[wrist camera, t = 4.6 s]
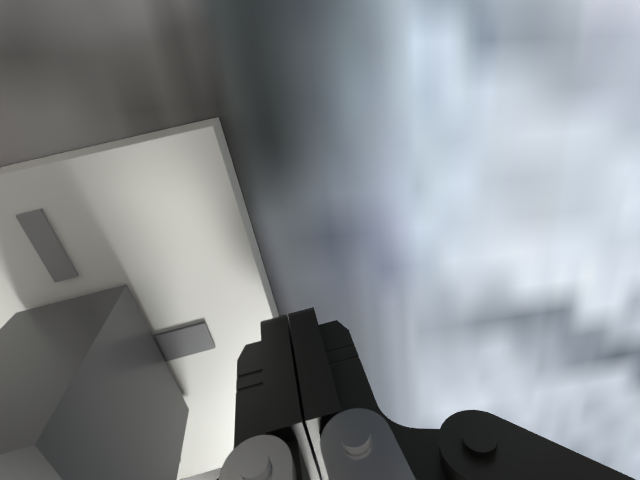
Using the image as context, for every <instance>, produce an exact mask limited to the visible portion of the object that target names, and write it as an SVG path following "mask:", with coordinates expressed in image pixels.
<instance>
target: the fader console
mask: <svg viewBox="0 0 640 480" xmlns="http://www.w3.org/2000/svg"><path fill="white" fill-rule="evenodd" d="M126 284H127V286H128V288H129V290H130V292H131V294H132V296H133V298H134V300H135V302H136V304H137V306H138V308H139V310H140V312H141V314H142V316H143V318H144V320H145V322H146V324H147V326H148V328H149V330H150V332H151V334H152V336H153V338H154V340H155V342H156V344H157V346H158V348H159V350H160V352H161V354H162V356H163V358H164V360H165V362H166V364H167V366H168V368H169V370H170V372H171V374H172V376H173V378H174V380H175V382H176V384H177V386H178V388H179V390H180V392H181V394H182V396H183V398H184V400H185V402H186V404H187V406H188V408H189V413H188V419H187V424H186V430H185V435H184V441H183V447H182V452H181V458H180V463H179V469H178V474H177V480H180V479H183V478H187V477H190V476H193V475H197V474H200V473H204V472H207V471H210V470H214V469H217V468H221V467H222V466H223V463H224V462H225V460H226V458H227V457H228V455H229V454H230V453H231V452H232V451H233V448H234V429H235V404H236V393H237V391H236V379H237V360H238V358H239V356H240V354H241V352H242V350H243V349H244V347H245V345H247V344H251V343H254V342H258V341H261V327H260V322H261V321H264V320H268V319H272V318H276V317H279V314H278V311H277V307H276V304H275V301H274V298H273V294H272V291H271V288H270V284H269V281H268V278H267V275H266V271H265V268H264V265H263V261H262V258H261V255H260V252H259V248H258V245H257V242H256V238H255V235H254V232H253V229H252V225H251V222H250V219H249V215H248V212H247V209H246V205H245V202H244V199H243V196H242V192H241V189H240V186H239V182H238V179H237V176H236V173H235V169H234V166H233V163H232V159H231V156H230V153H229V150H228V146H227V143H226V140H225V136H224V133H223V130H222V127H221V123H220V120H219V117H217V118H212V119H208V120H204V121H199V122H195V123H190V124H186V125H182V126H177V127H173V128H169V129H164V130H160V131H156V132H151V133H147V134H143V135H138V136H134V137H129V138H125V139H121V140H116V141H112V142H108V143H103V144H99V145H95V146H90V147H86V148H82V149H77V150H73V151H68V152H64V153H60V154H55V155H51V156H47V157H42V158H38V159H34V160H29V161H25V162H21V163H16V164H12V165H7V166H3V167H0V329H1V328H2V327H3V326H4V325H5V324H6V322H7V321H8V320H9V319H10V318H11V317H12V316H13V315H14V314H15V313H17V312H21V311H25V310H29V309H32V308H36V307H40V306H44V305H48V304H52V303H56V302H60V301H64V300H68V299H72V298H76V297H79V296H83V295H87V294H91V293H95V292H99V291H103V290H107V289H111V288H115V287H119V286H123V285H126Z"/></svg>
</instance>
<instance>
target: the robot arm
mask: <svg viewBox="0 0 640 480" xmlns="http://www.w3.org/2000/svg"><path fill="white" fill-rule="evenodd" d="M288 315H289V321H288V317H287V315H283V316H279V317H276V318H272V319H268V320H264V321H261V322H260V327H261V341H258V342H254V343H251V344H247V345H245V347H244V349H243V350H242V352H241V354H240V356H239V358H238V360H237V379H236V391H237V393H236V404H235V429H234V448H233V451H232V452H231V453H230V454H229V455H228V457H227V458H226V460H225V462H224V463H223V466H222V468H221V471H220V476H219V478H218V479H217V480H322V477H323V480H636V479H633V478H631V477H629V476H627V475H625V474H622V473H620V472H618V471H616V470H614V469H611V468H609V467H607V466H605V465H603V464H600V463H598V462H596V461H594V460H592V459H590V458H587V457H585V456H583V455H581V454H579V453H576V452H574V451H572V450H570V449H568V448H565V447H563V446H561V445H559V444H557V443H555V442H552V441H550V440H548V439H546V438H544V437H541V436H539V435H537V434H535V433H533V432H530V431H528V430H526V429H524V428H522V427H519V426H517V425H515V424H513V423H511V422H509V421H506V420H504V419H502V418H500V417H498V416H495V415H493V414H490V413H488V412H484V411H479V410H465V411H460V412H457V413H455V414H453V415H451V416H450V417H448V418H447V419H446V420H445V421H444V423H443V424H442V426H441V428H440V429H417V428H409V427H405V426H402V425H399V424H397V423H395V422H393V421H391V420H390V419H388V418H387V417H386V416H385V415H384V414H383V413H382V412H381V410H380V409H379V407H378V405H377V403H376V400H375V398H374V395H373V393H372V390H371V387H370V385H369V382H368V380H367V377H366V374H365V372H364V369H363V366H362V364H361V361H360V359H359V356H358V353H357V351H356V348H355V346H354V343H353V340H352V338H351V335H350V333H349V330H348V329H347V328H345V327H344V326H343V325H342V324H341V323H339V322H338V321H337V320H336V321H332V322H328V323H325V324H321V325H318V322H317V318H316V314H315V311H314V307H313V308H309V309H305V310H302V311H298V312H294V313H290V314H288ZM289 322H290V324H289ZM320 470H321V471H320ZM321 474H322V477H321Z"/></svg>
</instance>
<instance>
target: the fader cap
mask: <svg viewBox="0 0 640 480" xmlns="http://www.w3.org/2000/svg"><path fill="white" fill-rule="evenodd" d="M188 413H189V408H188V406H187V404H186V402H185V400H184V398H183V396H182V394H181V392H180V390H179V388H178V386H177V384H176V382H175V380H174V378H173V376H172V374H171V372H170V370H169V368H168V366H167V364H166V362H165V360H164V358H163V356H162V354H161V352H160V350H159V348H158V346H157V344H156V342H155V340H154V338H153V336H152V334H151V332H150V330H149V328H148V326H147V324H146V322H145V320H144V318H143V316H142V314H141V312H140V310H139V308H138V306H137V304H136V302H135V300H134V298H133V296H132V294H131V292H130V290H129V288H128V286H127V284H126V285H123V286H119V287H115V288H111V289H107V290H103V291H99V292H95V293H91V294H87V295H83V296H79V297H76V298H72V299H68V300H64V301H60V302H56V303H52V304H48V305H44V306H40V307H36V308H32V309H29V310H25V311H21V312H17V313H15V314H14V315H13V316H12V317H11V318H10V319H9V320H8V321H7V322H6V324H5V325H4V326H3V327H2V328H1V329H0V480H177V474H178V469H179V463H180V458H181V452H182V447H183V441H184V435H185V430H186V424H187V419H188Z"/></svg>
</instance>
